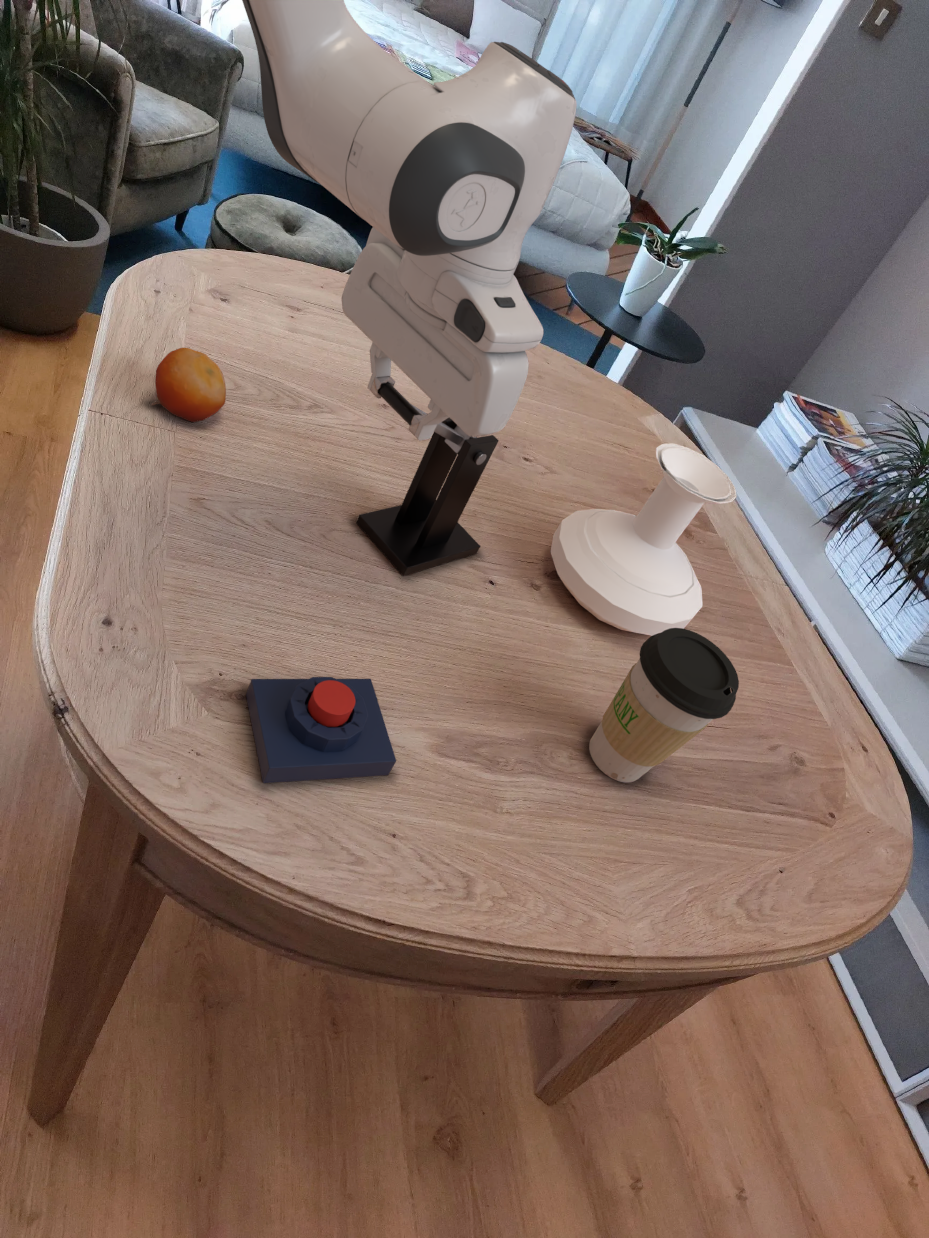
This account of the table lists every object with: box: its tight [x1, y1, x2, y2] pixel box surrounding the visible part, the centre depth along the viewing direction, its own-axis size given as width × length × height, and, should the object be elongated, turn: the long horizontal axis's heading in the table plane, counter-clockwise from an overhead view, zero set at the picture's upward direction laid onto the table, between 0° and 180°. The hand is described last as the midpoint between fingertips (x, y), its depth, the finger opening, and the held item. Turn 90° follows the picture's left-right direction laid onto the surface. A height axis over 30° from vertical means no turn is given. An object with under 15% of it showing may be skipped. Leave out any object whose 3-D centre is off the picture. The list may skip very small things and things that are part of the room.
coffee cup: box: [588, 628, 740, 783], centre depth 81 cm, size 10×10×15 cm
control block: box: [245, 676, 397, 784], centre depth 71 cm, size 11×9×4 cm
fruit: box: [150, 347, 227, 423], centre depth 95 cm, size 8×8×8 cm
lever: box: [379, 383, 478, 455], centre depth 83 cm, size 15×5×2 cm, turn 132°
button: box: [308, 680, 355, 727], centre depth 70 cm, size 4×4×2 cm
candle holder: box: [550, 442, 738, 637], centre depth 100 cm, size 20×20×19 cm
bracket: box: [355, 417, 499, 577], centre depth 93 cm, size 12×9×16 cm
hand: (398, 414), depth 78 cm, fingers closed on lever, 5 cm apart
